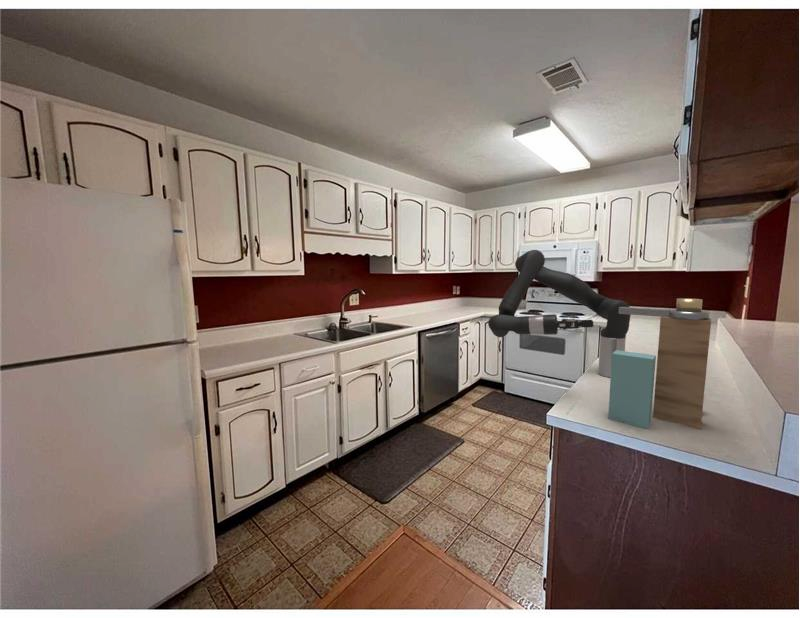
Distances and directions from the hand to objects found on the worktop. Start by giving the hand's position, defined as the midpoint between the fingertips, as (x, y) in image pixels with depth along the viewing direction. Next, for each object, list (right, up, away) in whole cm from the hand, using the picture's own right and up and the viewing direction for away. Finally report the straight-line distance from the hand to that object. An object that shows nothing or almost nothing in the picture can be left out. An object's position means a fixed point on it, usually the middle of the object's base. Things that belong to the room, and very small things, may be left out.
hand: (593, 323), depth 113 cm
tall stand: (+17, -29, -14) cm, 37 cm away
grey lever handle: (+13, +3, -14) cm, 19 cm away
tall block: (+3, -30, -14) cm, 33 cm away
